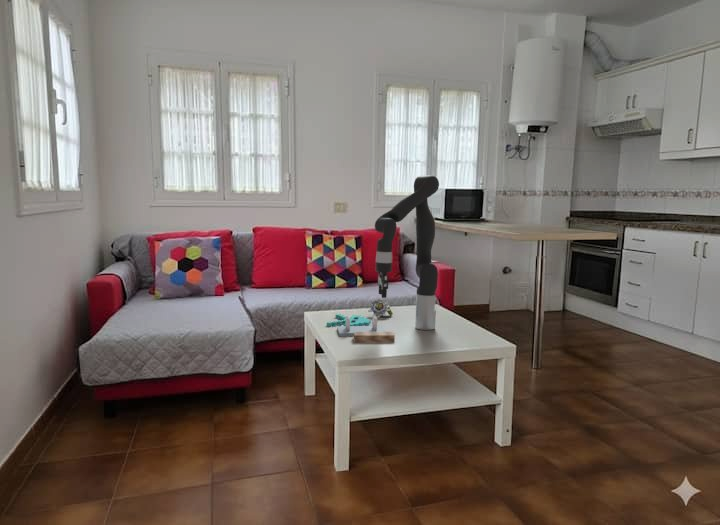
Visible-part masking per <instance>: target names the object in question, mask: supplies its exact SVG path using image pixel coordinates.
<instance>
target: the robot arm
mask: <svg viewBox="0 0 720 525" xmlns="http://www.w3.org/2000/svg"><path fill="white" fill-rule="evenodd" d="M439 186H440V182H439V179H438V178H437V177H436V176H435V175H429V174H428V175H420V176H417V177H415V180H414V182H413V193H411V194H410V195H408V196H406V197H404V198H403V199H401V200H400V201H398V202H397V203H396V204H395V205H394V206H393V207H391V209H390V210H389V211H386V212H385V213H384V214H382V215H381V216H379V217H378V218H377V219H376V220H375V222H374V229H375V231H376V232H378V233H380V234H382V238H381V237H380V238H379V239H377V242H376V254H375V255H376V256H375V272H377V274H378V276H377V285H378V286H377V287H378V295H381V299H386V298H387V296H388V294H387V291H388V289H389V279H390V278H389V275H388V273H391V272H392V270H393V244H394V243H393V242H394V240H395V236H396V232H397V229H398V228H397V223H400V222H401V221H403V220H404V219H405V218H406V217H407V216H408V214H409V213H411V212H412V211H413V210H414V209H415V216H416V217H415V223H416V224H415V226H416V227H415V231H416V232H415V233H416V235H415V236H416V237H415V238H416V263H415V274H416V276H417V277H418V278H419V283H418V284H419V285H418V287H417V288H416V297H415V298H416V301H415V302H416V303H415V304H416V305H415V322H414V323H415V326H414V327H415V329H418V330H420V331H421V330H422V331H424V330H425V331H431V330H436V321H437V320H436V315H437V310H436V291H437V288H438V280H439V270H438V267H437V266H436V265H435V264H434V263H433V262H432V248H433V244H434V241H435V237H436V220H435V218H434V216H433V214H432V211H431V210H430V207H429V204H428V198H429V197H431V196H433V195H434V194H436V192H438V190H439Z"/></svg>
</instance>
